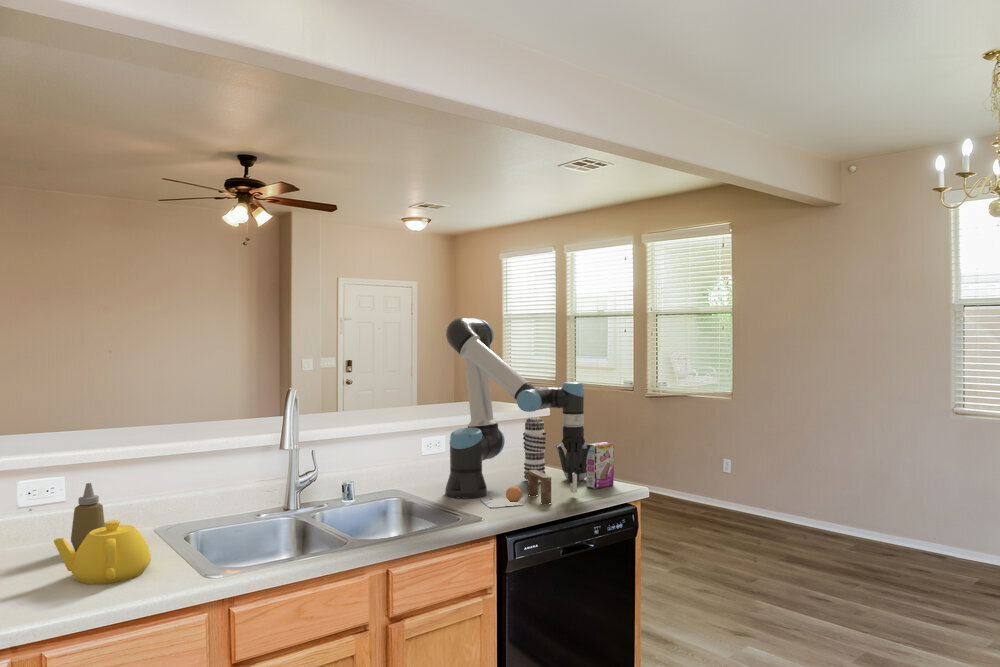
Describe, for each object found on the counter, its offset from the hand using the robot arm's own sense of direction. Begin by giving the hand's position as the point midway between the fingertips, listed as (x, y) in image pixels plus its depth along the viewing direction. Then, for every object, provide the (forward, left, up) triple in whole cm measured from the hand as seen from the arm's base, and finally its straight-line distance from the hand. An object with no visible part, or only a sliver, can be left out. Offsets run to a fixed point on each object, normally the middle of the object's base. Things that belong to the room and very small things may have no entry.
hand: (573, 491), depth 239 cm
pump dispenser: (-27, +13, -2) cm, 30 cm away
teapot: (+39, -139, -2) cm, 144 cm away
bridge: (0, -13, -2) cm, 13 cm away
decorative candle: (-31, -3, -2) cm, 31 cm away
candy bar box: (-13, +17, -2) cm, 22 cm away
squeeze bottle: (+15, -148, -2) cm, 149 cm away
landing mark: (0, -27, -2) cm, 27 cm away
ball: (0, -23, +1) cm, 23 cm away
